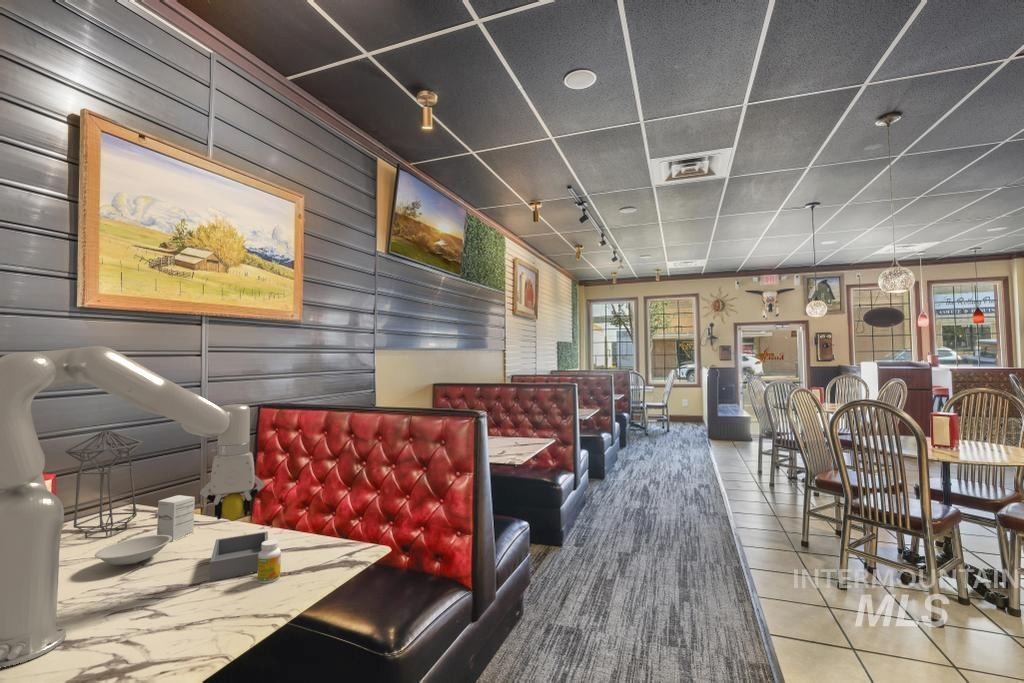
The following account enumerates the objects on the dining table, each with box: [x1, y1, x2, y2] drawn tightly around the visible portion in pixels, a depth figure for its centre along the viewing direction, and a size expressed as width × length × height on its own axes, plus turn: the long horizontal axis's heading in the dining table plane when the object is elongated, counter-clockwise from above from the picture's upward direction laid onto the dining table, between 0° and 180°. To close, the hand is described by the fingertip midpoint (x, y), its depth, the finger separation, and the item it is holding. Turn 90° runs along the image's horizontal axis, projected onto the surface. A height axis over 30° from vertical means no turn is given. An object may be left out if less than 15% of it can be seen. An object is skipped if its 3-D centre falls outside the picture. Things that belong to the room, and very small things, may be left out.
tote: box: [209, 531, 269, 582], centre depth 131 cm, size 18×14×5 cm
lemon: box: [221, 492, 245, 522], centre depth 124 cm, size 6×6×8 cm
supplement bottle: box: [257, 539, 282, 584], centre depth 122 cm, size 5×5×10 cm
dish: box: [94, 534, 172, 566], centre depth 131 cm, size 18×14×5 cm
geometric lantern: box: [65, 429, 145, 539], centre depth 155 cm, size 16×16×35 cm
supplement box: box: [156, 494, 196, 542], centre depth 152 cm, size 7×7×13 cm
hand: (232, 515), depth 124 cm, fingers closed on lemon, 5 cm apart
